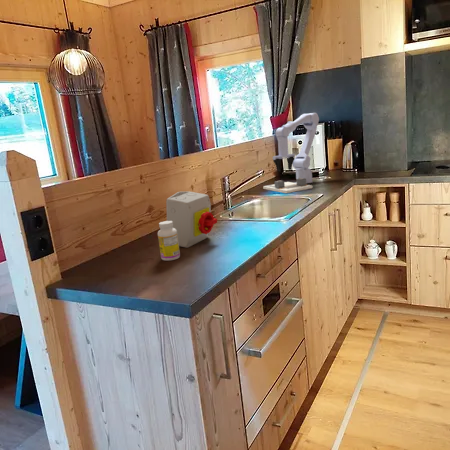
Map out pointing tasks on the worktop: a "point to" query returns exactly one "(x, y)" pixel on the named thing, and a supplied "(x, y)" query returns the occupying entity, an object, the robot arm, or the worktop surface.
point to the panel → (288, 187)
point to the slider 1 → (279, 184)
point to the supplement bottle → (168, 241)
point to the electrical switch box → (190, 217)
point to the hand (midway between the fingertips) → (284, 170)
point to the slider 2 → (301, 181)
